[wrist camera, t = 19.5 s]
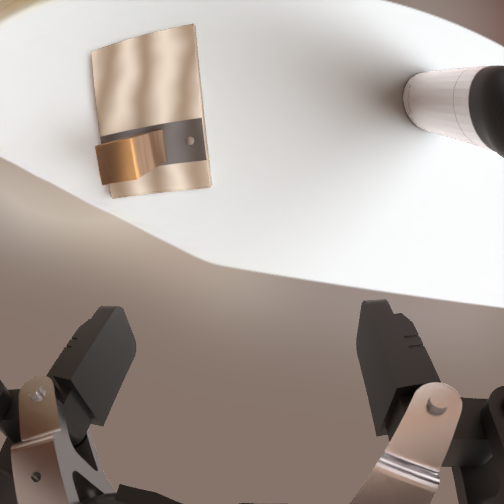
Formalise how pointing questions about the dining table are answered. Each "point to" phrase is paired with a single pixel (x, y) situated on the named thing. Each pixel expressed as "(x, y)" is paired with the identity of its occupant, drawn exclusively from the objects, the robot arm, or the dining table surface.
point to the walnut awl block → (131, 156)
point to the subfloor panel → (155, 106)
